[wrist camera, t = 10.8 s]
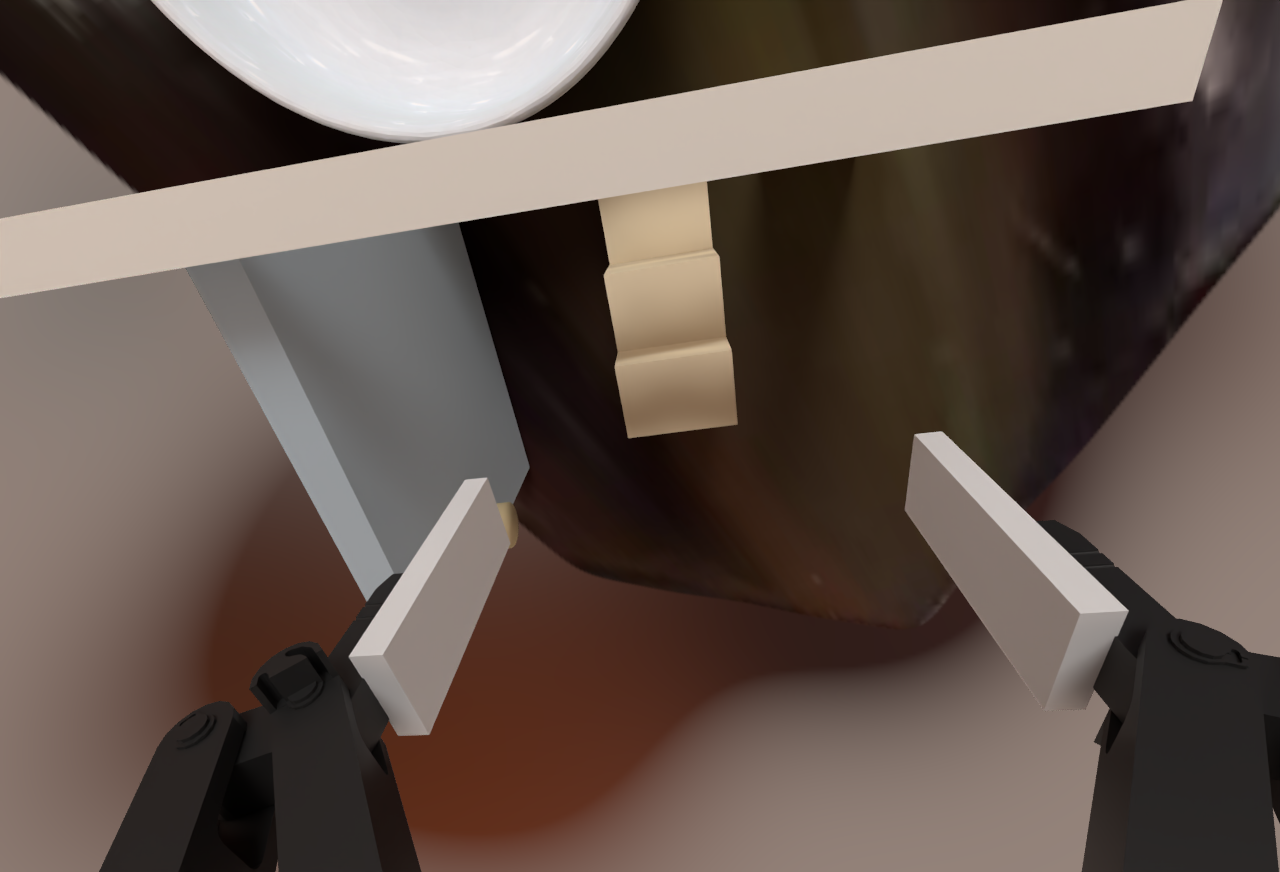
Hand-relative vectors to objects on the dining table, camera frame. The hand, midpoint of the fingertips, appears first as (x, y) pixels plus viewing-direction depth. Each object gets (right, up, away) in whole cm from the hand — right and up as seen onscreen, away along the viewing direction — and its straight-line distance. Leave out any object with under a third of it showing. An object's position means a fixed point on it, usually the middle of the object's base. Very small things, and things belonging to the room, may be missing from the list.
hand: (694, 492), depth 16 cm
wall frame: (-4, +15, +9) cm, 18 cm away
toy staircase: (0, +10, +12) cm, 15 cm away
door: (-10, +7, +13) cm, 18 cm away
